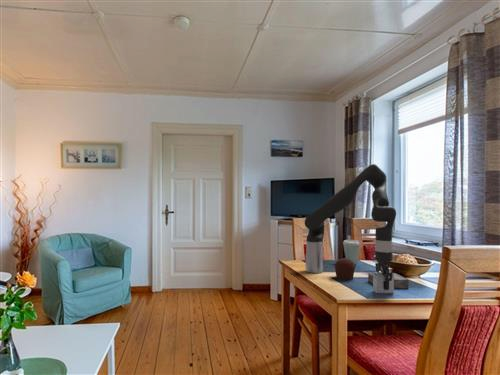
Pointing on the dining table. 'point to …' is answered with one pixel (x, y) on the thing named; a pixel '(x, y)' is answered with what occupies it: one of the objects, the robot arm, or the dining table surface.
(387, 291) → the medicine box
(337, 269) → the muffin
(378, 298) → the dining table surface
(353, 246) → the disposable coffee cup
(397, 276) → the plinth
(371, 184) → the robot arm
